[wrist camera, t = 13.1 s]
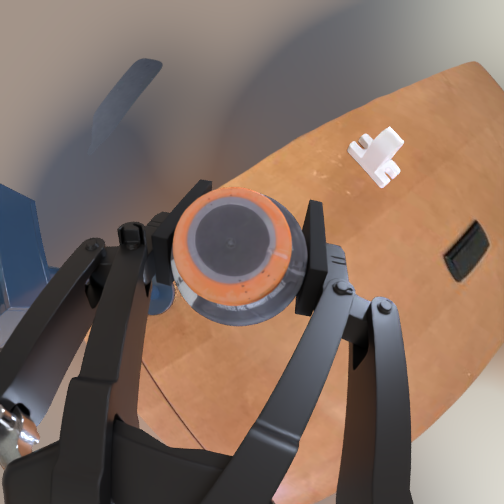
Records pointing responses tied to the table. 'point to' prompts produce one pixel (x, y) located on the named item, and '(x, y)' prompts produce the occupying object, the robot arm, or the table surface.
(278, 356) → the table surface
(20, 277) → the square tray stand
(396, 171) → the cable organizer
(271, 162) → the table surface
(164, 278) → the robot arm
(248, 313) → the pill bottle
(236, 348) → the table surface
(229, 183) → the table surface
